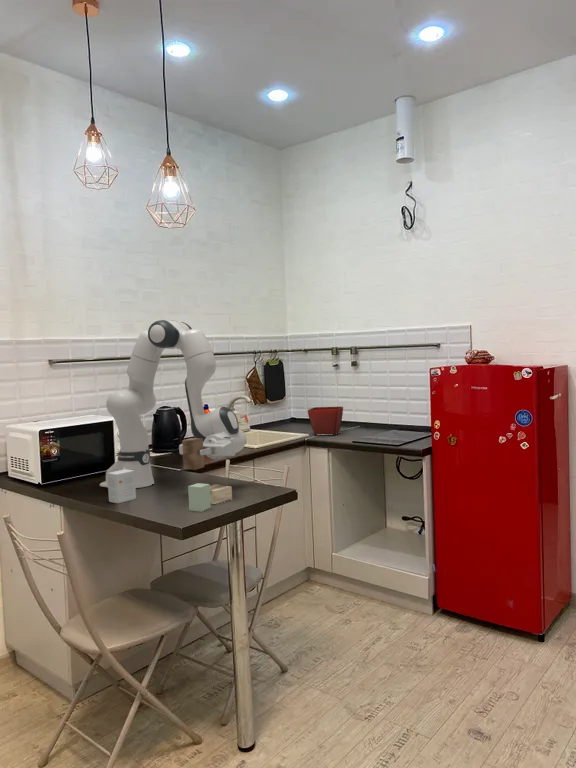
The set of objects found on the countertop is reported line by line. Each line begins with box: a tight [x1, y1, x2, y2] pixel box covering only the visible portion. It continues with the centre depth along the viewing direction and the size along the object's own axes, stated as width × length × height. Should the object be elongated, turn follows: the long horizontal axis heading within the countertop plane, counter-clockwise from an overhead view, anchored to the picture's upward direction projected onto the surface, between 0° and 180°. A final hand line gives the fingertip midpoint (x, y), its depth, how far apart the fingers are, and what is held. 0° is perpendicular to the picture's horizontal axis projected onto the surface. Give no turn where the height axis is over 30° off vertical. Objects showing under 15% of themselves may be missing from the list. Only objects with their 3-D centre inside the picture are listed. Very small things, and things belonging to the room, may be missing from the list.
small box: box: [107, 469, 137, 504], centre depth 210 cm, size 8×6×10 cm
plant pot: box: [307, 406, 344, 435], centre depth 368 cm, size 19×19×17 cm
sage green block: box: [187, 482, 212, 513], centre depth 192 cm, size 5×5×8 cm
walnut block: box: [181, 437, 205, 471], centre depth 202 cm, size 5×5×10 cm
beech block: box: [210, 483, 233, 504], centre depth 203 cm, size 8×8×5 cm
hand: (191, 452), depth 201 cm, fingers closed on walnut block, 5 cm apart
